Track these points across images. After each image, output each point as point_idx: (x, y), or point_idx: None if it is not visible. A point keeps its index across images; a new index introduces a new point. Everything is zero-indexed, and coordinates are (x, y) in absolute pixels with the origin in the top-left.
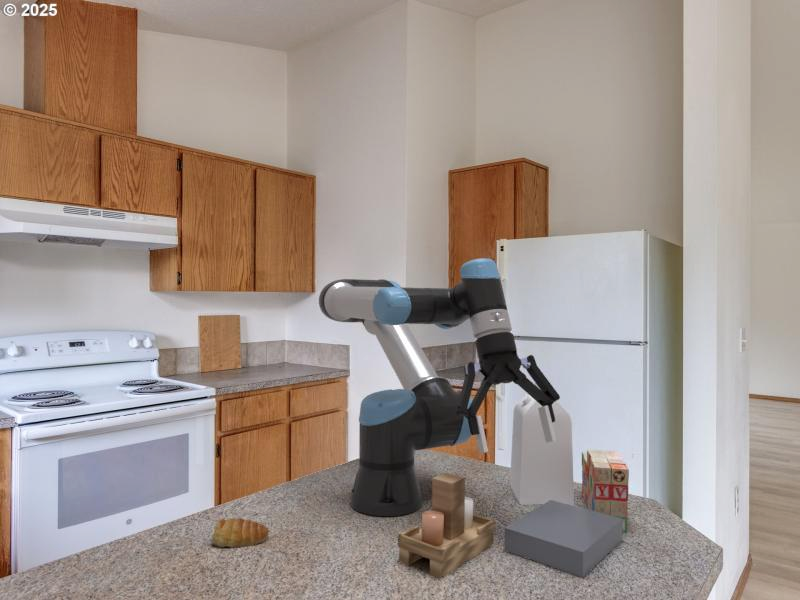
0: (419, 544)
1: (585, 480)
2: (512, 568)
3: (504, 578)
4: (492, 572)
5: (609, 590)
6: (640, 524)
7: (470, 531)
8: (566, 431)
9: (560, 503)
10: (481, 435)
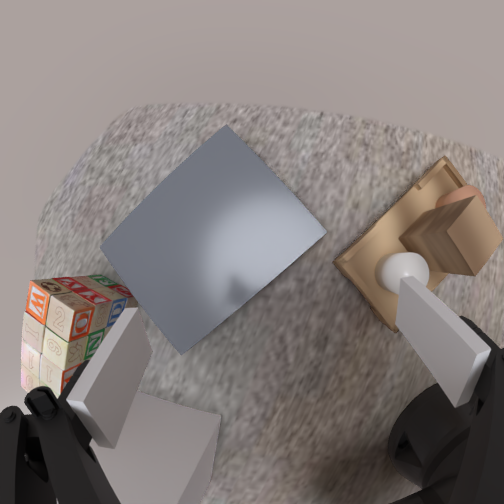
0: None
1: None
2: (327, 176)
3: (347, 150)
4: (360, 169)
5: (215, 109)
6: None
7: (386, 242)
8: None
9: (169, 333)
10: (442, 303)
